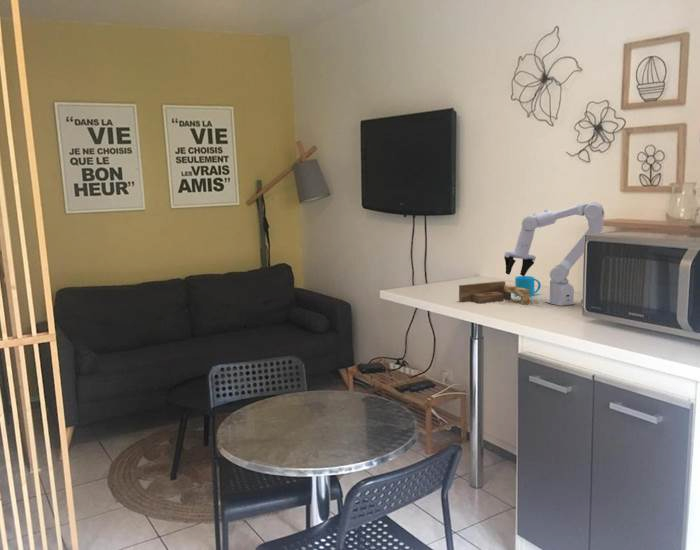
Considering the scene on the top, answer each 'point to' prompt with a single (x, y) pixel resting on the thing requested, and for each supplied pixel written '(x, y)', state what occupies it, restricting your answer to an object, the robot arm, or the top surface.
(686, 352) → the top surface
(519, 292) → the rail
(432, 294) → the top surface
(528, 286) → the mug
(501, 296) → the stepped wooden block
